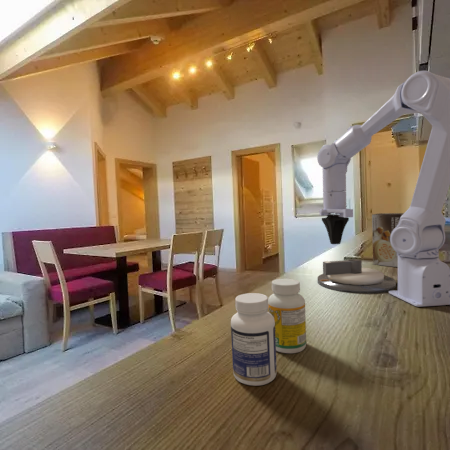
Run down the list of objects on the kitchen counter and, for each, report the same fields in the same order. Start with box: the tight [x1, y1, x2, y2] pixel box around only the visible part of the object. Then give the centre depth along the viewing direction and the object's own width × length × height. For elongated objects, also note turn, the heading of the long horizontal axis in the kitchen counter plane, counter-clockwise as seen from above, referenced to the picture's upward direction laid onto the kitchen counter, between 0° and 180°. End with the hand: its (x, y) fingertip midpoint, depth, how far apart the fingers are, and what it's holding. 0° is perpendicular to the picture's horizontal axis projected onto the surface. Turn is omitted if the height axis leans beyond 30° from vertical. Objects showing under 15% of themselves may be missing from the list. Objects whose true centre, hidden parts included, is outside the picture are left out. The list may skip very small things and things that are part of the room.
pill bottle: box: [230, 292, 278, 387], centre depth 38 cm, size 5×5×10 cm
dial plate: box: [317, 273, 397, 294], centre depth 78 cm, size 18×18×1 cm
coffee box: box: [371, 212, 405, 268], centre depth 97 cm, size 9×6×16 cm
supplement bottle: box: [267, 278, 307, 354], centre depth 46 cm, size 5×5×10 cm
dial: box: [322, 258, 385, 285], centre depth 78 cm, size 14×13×5 cm
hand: (335, 243), depth 83 cm, fingers closed
